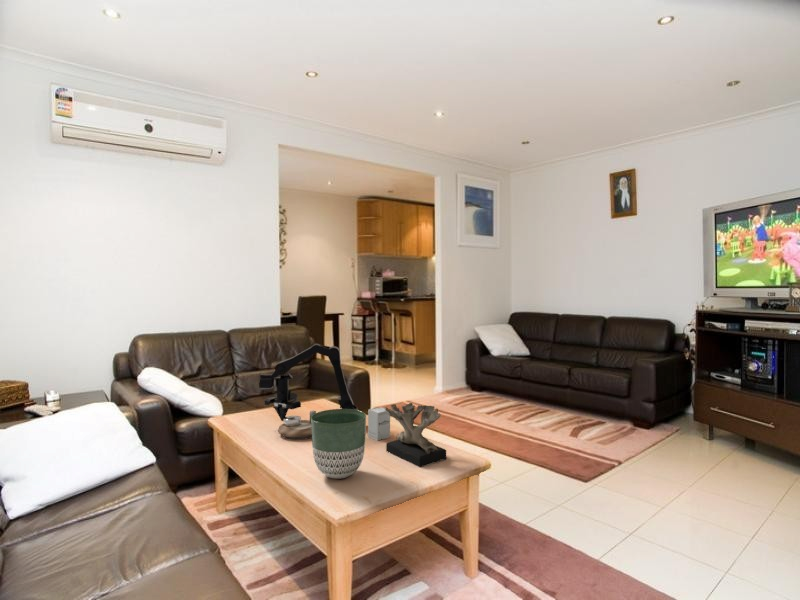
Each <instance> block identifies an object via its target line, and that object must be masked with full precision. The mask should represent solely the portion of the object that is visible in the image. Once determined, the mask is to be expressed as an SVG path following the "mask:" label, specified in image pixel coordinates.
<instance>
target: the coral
mask: <svg viewBox="0 0 800 600" xmlns="http://www.w3.org/2000/svg"><path fill="white" fill-rule="evenodd" d="M383 408H384V409H385V411H386V413H388V414H389V415H390V417H392V418H393V419H395V420H396V421H397V422H398V423H399V424H400V425H401V427H402V428H403V430H404V431H401V432H400V433H398V434H397V435H396V438H397V439H394V440H391V441H388V442H386V445H385V449H386V450H385V451H386V452H387V451H388V452H387V453H389V452H390V453H389V454H391V455H393V456H395V457H397V458H400V459H402V460H404V461H406V462H407V463H410V464H412V465H414V466H417V467H419V468H422V467H425V466H428V465H430V464H434V463H437V462H441V461H444V460H446V459H447V449H445V448H443V447H441V446H437V445H435V443H433V442H431V441H429V439H427V438H426V437H425V436H423V434H422V433H423V431H424V430H425V429H426V428H427V427H429V426H431V425H433V424H434V423H435V422H437V420H439V419H440V417H441V416H442V415H441V413H439V408H435V405H420V404H419V405H418V406H417V407H416V405H414V404H413V403H412V402H410V403H406V404H405V405H402V406H401V410H402V411H401V410H400V408H399V407H397V404H394V403H393V404H390V408H388V407H387V406H384V407H383ZM415 409H416V410H415ZM420 413H421V414H420ZM419 415H421V416H420V417H421V418H420V424H418V425H414V424H415V419H417V417H418V416H419Z"/></svg>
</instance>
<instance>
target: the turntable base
mask: <svg viewBox="0 0 800 600" xmlns="http://www.w3.org/2000/svg"><path fill="white" fill-rule="evenodd" d="M283 437H284V438H285V439H289V438H290V439H289V440H305V438H307V439H310V437H311V438H312V435H311V436H306V437H287V436H283Z"/></svg>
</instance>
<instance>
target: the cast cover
mask: <svg viewBox="0 0 800 600" xmlns="http://www.w3.org/2000/svg"><path fill="white" fill-rule="evenodd" d="M283 420H284V421H283V424H284V426H286V427H295V426H299V425H301V420H302V417H301V416H300V415H288V416H286V417H285V418H284V419H283Z"/></svg>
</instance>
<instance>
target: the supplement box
mask: <svg viewBox="0 0 800 600" xmlns="http://www.w3.org/2000/svg"><path fill="white" fill-rule="evenodd" d="M367 427H368V428H367V436H368V438H370V439H371V440H374V439H375V440H374V441H376V440H377V441H381V439H382V440H385V439H390V438H391V416H390V415H389V414H388V413H386V411H385V409H384V407H381V406H379V407H376V408H375V407H374V408H369V409H368V411H367ZM389 437H390V438H389ZM377 441H376V442H377Z"/></svg>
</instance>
